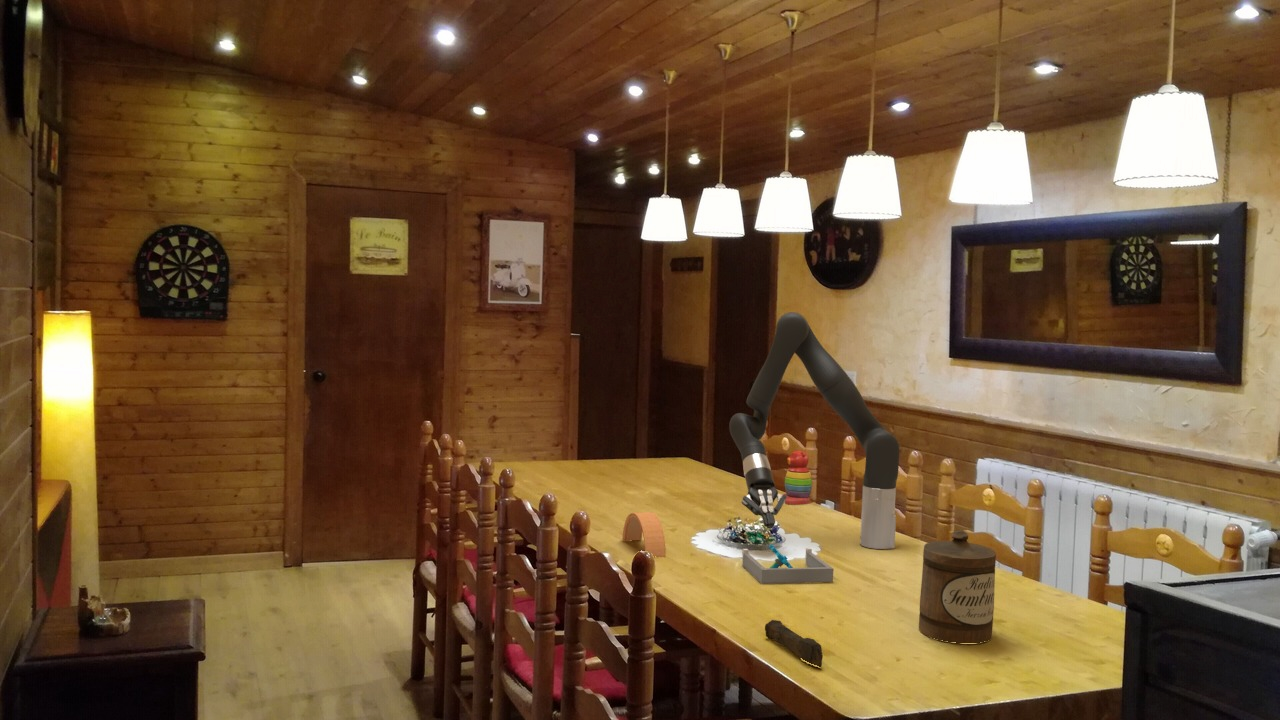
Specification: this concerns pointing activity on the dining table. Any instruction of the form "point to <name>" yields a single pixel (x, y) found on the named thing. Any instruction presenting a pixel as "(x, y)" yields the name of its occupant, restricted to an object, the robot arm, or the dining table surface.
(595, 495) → the dining table surface
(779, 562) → the teal crossed bars
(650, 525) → the arch
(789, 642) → the dark brown rough bar
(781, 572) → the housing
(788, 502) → the stacking bear
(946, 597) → the wooden container
